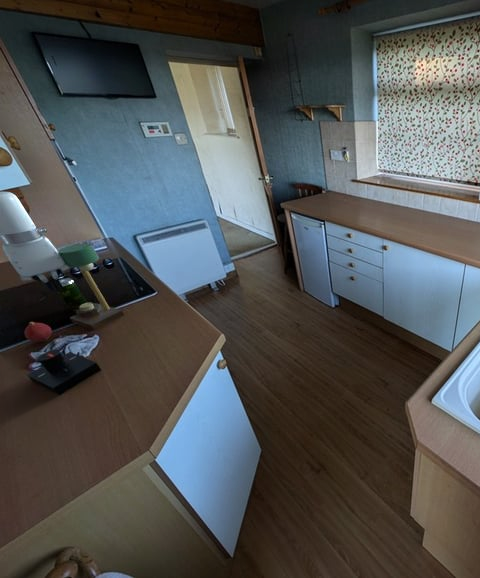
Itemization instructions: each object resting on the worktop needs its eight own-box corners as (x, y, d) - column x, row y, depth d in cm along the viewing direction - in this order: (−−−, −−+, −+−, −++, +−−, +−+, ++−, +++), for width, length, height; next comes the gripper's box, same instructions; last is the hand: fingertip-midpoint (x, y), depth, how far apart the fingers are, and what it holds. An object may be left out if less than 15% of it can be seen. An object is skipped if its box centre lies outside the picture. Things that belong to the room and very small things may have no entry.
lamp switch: (79, 310, 108) (77, 306, 107) (90, 305, 111) (88, 301, 110) (85, 312, 107) (83, 308, 106) (96, 307, 110) (94, 303, 109)
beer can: (76, 304, 118) (59, 278, 112) (91, 303, 119) (75, 277, 113) (67, 312, 114) (48, 285, 108) (82, 310, 114) (65, 284, 108)
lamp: (93, 314, 105) (52, 250, 92) (117, 303, 111) (82, 241, 99) (107, 319, 102) (67, 254, 90) (131, 307, 109) (97, 244, 96)
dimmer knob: (43, 369, 83) (33, 357, 81) (63, 359, 87) (53, 347, 84) (52, 374, 82) (42, 361, 80) (71, 363, 86) (62, 351, 83)
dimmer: (33, 382, 83) (26, 374, 82) (75, 358, 91) (69, 351, 90) (59, 395, 79) (52, 387, 78) (101, 369, 87) (95, 362, 86)
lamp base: (72, 322, 108) (66, 313, 106) (102, 308, 116) (97, 299, 114) (94, 330, 104) (88, 321, 102) (124, 314, 112) (119, 306, 110)
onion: (29, 344, 98) (13, 325, 93) (51, 333, 102) (37, 315, 98) (38, 348, 96) (23, 329, 92) (60, 337, 100) (46, 319, 96)
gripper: (53, 227, 92) (84, 278, 102) (-20, 241, 82) (22, 297, 91) (60, 231, 89) (91, 284, 98) (-16, 247, 78) (27, 304, 87)
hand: (57, 290), depth 94 cm, fingers closed
